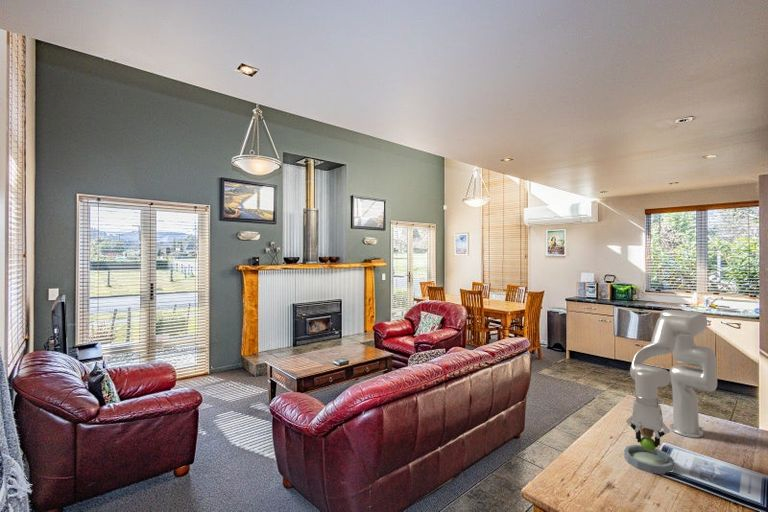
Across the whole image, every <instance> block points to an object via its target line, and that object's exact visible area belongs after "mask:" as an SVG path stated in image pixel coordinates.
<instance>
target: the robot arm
mask: <svg viewBox="0 0 768 512" xmlns="http://www.w3.org/2000/svg"><path fill="white" fill-rule="evenodd" d="M707 326H708V319H707V316H706V315H705V314H704V313H703V312H698V311H689V310H688V311H687V310H679V309H663V310H661V311H660V314H659V317H658V318H657V321H656V323H655V327H654V329H653V333H652V336H651V340H650V343H647V344H646V345H644V346H643V347H641V348H640V349H639V350H637V352H636V353H635V354H634V355H633V358H632V362H631V365H630V368H629V375H630V376H631V378H632V379H633V380H634V383H635V384H634V387H635V400H634V401H633V404H632V413H631V414H632V415H631V416H630V417H629V418H627V419H626V420H625V422H626V423H627V425H629V426H630V427H631V428H632V430H633V431H634V433H635V439H636V440H637V443H640V440H641V438H642V435H641V432H640V428H639V425H642V428H647V429H651V430H654V434H655V436H654V441H655V447H656V448H659V446H661V438H662V437H663V436H666V435H667V434H670V433H671V432H673V433H675V434H678V435H680V436H683V437H687V438H702V437H703V436H704V431H703V430H702V429H700V425H699V424H700V423H699V421H700V419H699V398H698V394H697V393H696V391H695V390H699V391H700V390H701V391H705V392H714V391H716V389H717V387H718V367H717V356H716V353H715V351H714V350H713V349H712V348H710V347H707V346H703V345H702V346H701V345H696V344H695V337H696V336H698V335H699V334H701V333H702V332H703V331H704V330H705V329H706V328H707ZM666 354H667V355H668V354H672V358H673V360H674V361H675V362H677V363H680V364H681V365H680V364H676V365H673V366H671V367H670V369H669V371H668V370H667V369H666V368H663V367H658V366H653V365H648V364H644V363H645V361H647V360H648V359H650V358H652V357H657V356H662V355H666ZM682 364H685V365H682ZM693 366H694V367H693ZM697 367H698V368H697ZM670 383H671V389H672V391H671V392H672V411H673V413H672V417H673V423H671V424H670V425H669V428H668V426H667V425H666V424H665V423H664V421H663V420H664V419H663V413H662V412H663V411H662V408H661V405H662V404H663V400H660V399H659V397H658V388H662V387H666V386H668V385H669V384H670ZM638 422H639V423H638ZM640 423H641V424H640ZM662 429H663V430H662ZM670 430H671V431H670Z"/></svg>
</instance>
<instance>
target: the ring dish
mask: <svg viewBox="0 0 768 512" xmlns="http://www.w3.org/2000/svg"><path fill="white" fill-rule="evenodd" d="M623 454H624V455H623V456H624V459H625V461H626V462H627V463H628V464H629V465H631V466H633V467H634V468H636V469H638V470H641V471H643V472H647V473H649V474H657V475H658V474H659V475H666V474H665V473H666V472H669V471H672V470H673V471H674V469H673V467H674V468H675V460H674V459H673V457H672V456H671V455H670V454H669V453H667V452H665V451H663V450H661V449H659V448H657V447H656V448H655V449H654V450H653V451H648V450H645V449H644V448H643V447H642V446H641V444H633V445H632V444H631V445H627V446H626V447H625V448H624V450H623ZM661 457H662V458H661ZM663 458H664V459H663ZM665 459H666V461H665Z"/></svg>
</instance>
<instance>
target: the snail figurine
mask: <svg viewBox="0 0 768 512" xmlns="http://www.w3.org/2000/svg"><path fill="white" fill-rule="evenodd" d="M638 423H639V422H638ZM640 424H641V423H640ZM639 428H640V429H639V430H640V432H641V440H640V442H639V443H640V444H639V445H641V446H642V447H643V448H644V449H645V450H648V451H653V450H654V449H655V448H656V449H657V447H655V439H653V437H654V434H655V432H654V430H651V429H647V428H643V427H642V425H639Z"/></svg>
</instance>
